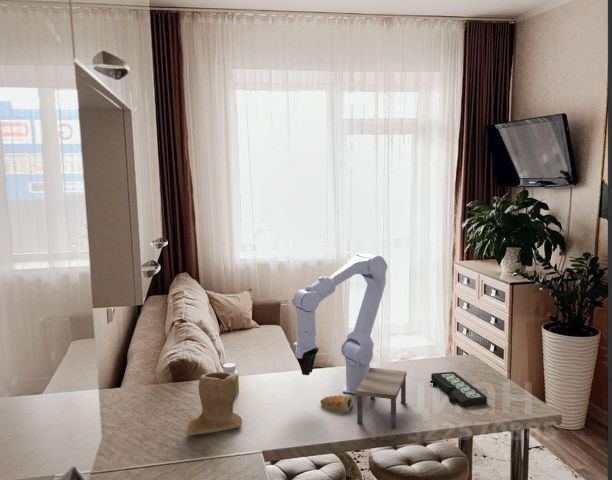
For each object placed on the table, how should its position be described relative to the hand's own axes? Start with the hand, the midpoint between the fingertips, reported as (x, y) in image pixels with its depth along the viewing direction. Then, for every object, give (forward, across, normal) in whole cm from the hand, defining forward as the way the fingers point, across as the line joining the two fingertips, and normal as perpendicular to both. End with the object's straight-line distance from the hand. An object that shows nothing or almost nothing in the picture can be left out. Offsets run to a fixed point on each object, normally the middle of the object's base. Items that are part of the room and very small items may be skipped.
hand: (307, 373), depth 158 cm
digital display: (+10, -21, +42) cm, 48 cm away
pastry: (+10, 0, +10) cm, 14 cm away
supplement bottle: (+10, +1, -26) cm, 28 cm away
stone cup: (+10, +22, -20) cm, 31 cm away
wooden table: (+9, 0, +23) cm, 25 cm away
